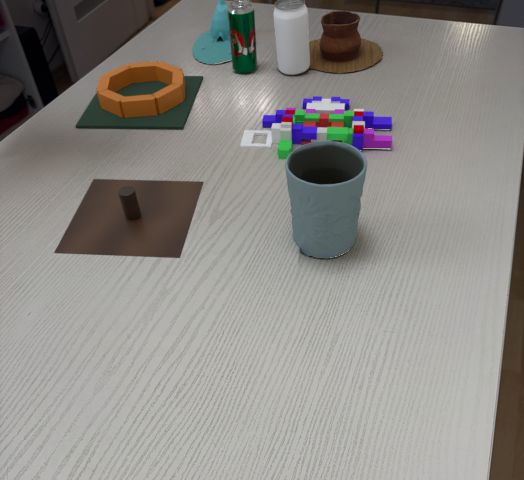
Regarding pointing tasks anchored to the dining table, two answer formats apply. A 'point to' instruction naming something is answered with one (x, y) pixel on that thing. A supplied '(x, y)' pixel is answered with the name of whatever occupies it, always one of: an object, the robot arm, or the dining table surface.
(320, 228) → the grey blue cup
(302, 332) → the dining table surface
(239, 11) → the soda can
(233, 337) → the dining table surface
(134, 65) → the ring
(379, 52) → the ceramic pot
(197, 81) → the mat
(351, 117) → the building block set
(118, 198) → the ring toss
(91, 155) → the dining table surface
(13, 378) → the dining table surface
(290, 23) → the can
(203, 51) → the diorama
